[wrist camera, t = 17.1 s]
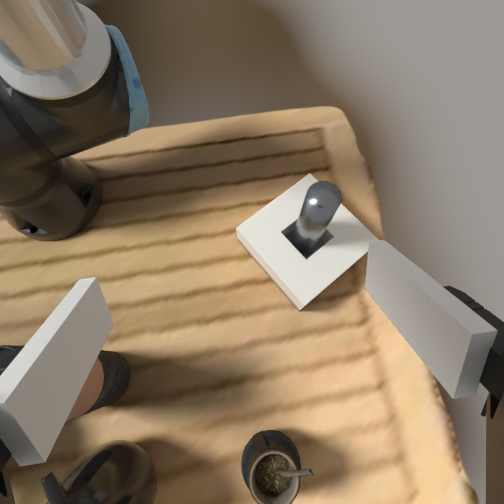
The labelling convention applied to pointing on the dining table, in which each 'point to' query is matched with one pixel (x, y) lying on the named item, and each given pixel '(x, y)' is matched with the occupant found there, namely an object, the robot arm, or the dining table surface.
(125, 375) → the travel mug
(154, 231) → the dining table surface
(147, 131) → the dining table surface
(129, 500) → the pump dispenser
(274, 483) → the mate gourd
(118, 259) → the dining table surface
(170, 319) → the dining table surface
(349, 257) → the hole block
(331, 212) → the pin
